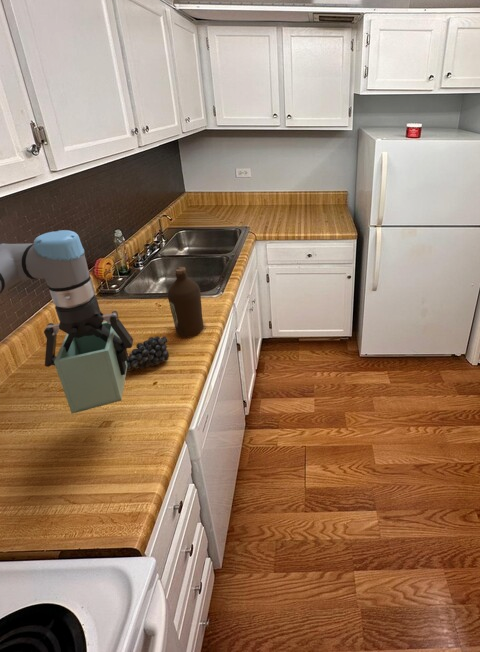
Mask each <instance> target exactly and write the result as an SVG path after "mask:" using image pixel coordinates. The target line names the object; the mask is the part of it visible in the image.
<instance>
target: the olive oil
mask: <svg viewBox="0 0 480 652" xmlns="http://www.w3.org/2000/svg"><path fill="white" fill-rule="evenodd" d="M174 271H175V277H176V279H175V280H174V282H172V284H171V285H170V286H169V288H168V291H167V299H168V300H167V301H168V304H169V309H170V311H171V315H172V320H173V324H174V329H175V333H176V335H177V336H178V337H180V338H191V337H195V336H197V335H199V334H200V333H202V331H203V329H204V320H203V307H202V296H201V288H200V286H199V285H198V284H199V283H197V282H196V281H195V280H193V279H191V278H189V277H188V273H187V271H186V267H185V266H179V267H176V268H175V270H174Z"/></svg>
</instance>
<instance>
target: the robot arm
mask: <svg viewBox="0 0 480 652" xmlns="http://www.w3.org/2000/svg"><path fill="white" fill-rule="evenodd" d="M31 280H35V281H36V280H45V283H46V285H47V287H48V290H49V294H50V297H51V301H52V303H53V306H55V307H54V309H55V312H56V316H57V318H58V320H59V322H57V323H53V322H48V323H47V324H46V327H45V328H44V330H43V333H44V336H45V339H46V343H45V345H46V346H45V355H44V356H45V357H44V359H45V360H44V366H45V367H48V368H49V367H51V366H55V364H54V361H55V359H56V357H57V356H56V348H57V347H56V346H57V337H58V336H57V335H58V333H59V331H62V332H63V333H66V335H67V334H69V335H68V337H67V339H66V342H65V344H64V346H63V347H65V349H66V352H68V350H69V348H70V345H71V343H72V341H73V339H74V337H77V338H81V337H83V336H91V335H95V336H96V337H100V338H101V339H103V340H104V341H105V342H107V340H108V338H109V335H110V331H109V330H108V329H107V328H106V327H105V325H104V324H102V322H105V321H107V323H108V324H111V326H112V328H113V329H114V331H115V332H116V333H117V335H118V336H119V338H118V337H117V336H116V335H115V334H114V337H113V344H114V348H115V349H116V350H117V352H116V356H117V360H118V364H119V368H120V372H121V375H125V371H126V364H125V361H127V358H128V356H129V354H128V349H132V347H133V345H134V338H133V337H132V336H131V334H130V332H129V331H128V330H127V328H126V327H125V326H124V324H123V322H121V320H120V318H119V313H118V311H116V310H113V311H111V313H105V314H104V313H103V312H102V311H101V309H100V305H99V302H98V298H97V295H96V290H95V287H94V284H93V280H92V277H91V273H90V271H89V266H88V262H87V258H86V253H85V249H84V247H83V244H82V242H81V238H80V236H79V234H77V232H76V231H73V230H68V229H64V230H63V229H61V230H56V231H49V232H45V233H42V234H40V235H38V236H37V237H36V238H34V240H33V243H6V242H5V243H3V242H2V243H0V294H2V293H3V292H5V291H7V290H8V289H9V288H11V287H13V286H14V285H15V284H17V283H18V282H20V281H31ZM126 372H127V371H126Z"/></svg>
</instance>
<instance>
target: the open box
mask: <svg viewBox="0 0 480 652" xmlns="http://www.w3.org/2000/svg"><path fill="white" fill-rule="evenodd" d="M102 324H104V325H105V327H106V328H107V329H108V330H109V331H110V335H109V338H108V340H107V342H105V341H104V340H103V339H101V338H100V337H96V336H95V335H91V336H83V337H81V338H77V337H74V339H73V341H72V343H71V345H70V348H69V350H68V352H66V349H65V347H63V346H64V344H65V342H66V339H67V337H68V335H69V334H67V333H66V335H65V337H64V339H63V341H62V343H61V346H60V348H59V351H58V352H57V354H56V356H55V357H56V359H55V361H54V364H55V365H54V367H55V369H56V373H57V375H58V378H59V381H60V384H61V386H62V389H63V392H64V397H65V399H66V401H67V404H68V407H69V410H70V413H71V415H73V414H77V413H80V412H84V411H88V410H92V409H95V408H100V407H102V406H107V405H111V404H114V403H118V402H122V401H123V394H124V388H125V382H126V376H127V372H128V371H127V362H126V361H125V364H126V371H125V375H121V372H120V368H119V364H118V360H117V356H116V352H117V350H116V349H115V348H114V344H113V337H114V334H115V335H116V336H117V337H118V338H119V336H118V335H117V333H116V332H115V331H114V329H113V328H112V326H111V324H108V323H107V321H105V320H104V321H103V322H102Z"/></svg>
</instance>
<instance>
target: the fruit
mask: <svg viewBox="0 0 480 652" xmlns="http://www.w3.org/2000/svg"><path fill="white" fill-rule="evenodd" d="M167 343H168V338H167V336H166V335H164V336H161V337H160V336H159V335H158V336H154V337H153V336H149V337H148V339H147V340H144V341H143V342H138V343H137V344H136V346H135V347H136V348H133V349H132V350H131V352H130V353H129V354H128V358H127V361H126V362H127V371H126V372H131V371H132V370H133V369H140V370H143V369H144V368H145V367H146V368H148V367H150V366H155V365H156V366H158V365H160V363H164V361H165V362H166V361H168V360H169V358H170V353H169V351H168V348H171V345H167Z"/></svg>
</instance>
